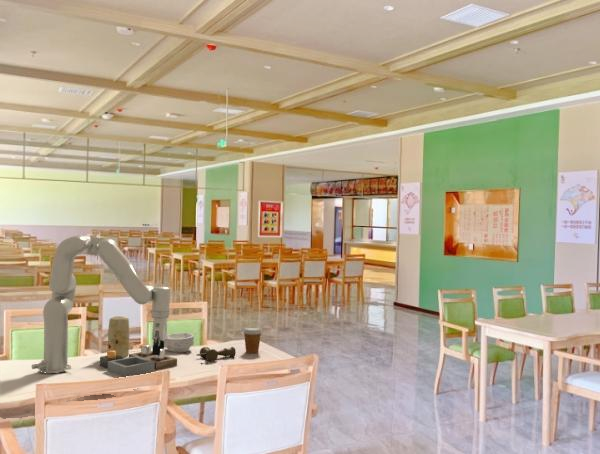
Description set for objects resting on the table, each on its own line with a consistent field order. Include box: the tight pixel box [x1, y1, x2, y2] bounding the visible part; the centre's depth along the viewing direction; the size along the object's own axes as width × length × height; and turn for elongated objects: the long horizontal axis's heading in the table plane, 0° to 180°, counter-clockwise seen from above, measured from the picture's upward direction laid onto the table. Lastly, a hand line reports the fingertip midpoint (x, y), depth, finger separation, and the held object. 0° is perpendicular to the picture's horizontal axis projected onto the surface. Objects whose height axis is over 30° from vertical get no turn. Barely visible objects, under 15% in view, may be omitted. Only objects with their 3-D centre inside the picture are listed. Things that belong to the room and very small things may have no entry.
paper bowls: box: [164, 332, 195, 354], centre depth 279 cm, size 15×15×8 cm
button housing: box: [99, 355, 123, 370], centre depth 243 cm, size 7×7×5 cm
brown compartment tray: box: [128, 350, 178, 371], centre depth 250 cm, size 22×11×4 cm, turn 48°
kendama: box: [196, 346, 237, 363], centre depth 265 cm, size 6×10×20 cm
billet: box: [155, 348, 166, 361], centre depth 246 cm, size 4×4×7 cm
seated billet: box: [140, 344, 152, 357], centre depth 254 cm, size 4×4×7 cm
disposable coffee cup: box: [243, 326, 263, 354], centre depth 280 cm, size 10×10×12 cm
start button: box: [106, 350, 116, 359], centre depth 243 cm, size 4×4×4 cm
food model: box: [107, 315, 130, 358], centre depth 260 cm, size 10×7×20 cm
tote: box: [107, 356, 155, 377], centre depth 236 cm, size 14×14×5 cm
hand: (158, 352), depth 246 cm, fingers open, 9 cm apart
